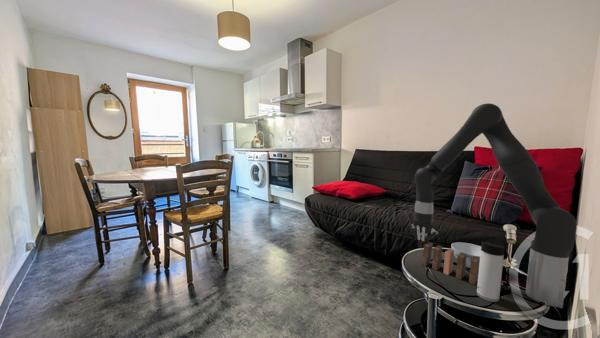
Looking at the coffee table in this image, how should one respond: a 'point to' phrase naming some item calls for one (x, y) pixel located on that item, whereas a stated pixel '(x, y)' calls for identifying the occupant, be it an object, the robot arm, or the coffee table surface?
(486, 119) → the robot arm
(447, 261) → the terracotta tile
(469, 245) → the chinaware
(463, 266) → the walnut tile
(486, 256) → the travel mug
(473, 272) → the walnut tile
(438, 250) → the walnut tile
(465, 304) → the coffee table surface
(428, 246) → the walnut tile
